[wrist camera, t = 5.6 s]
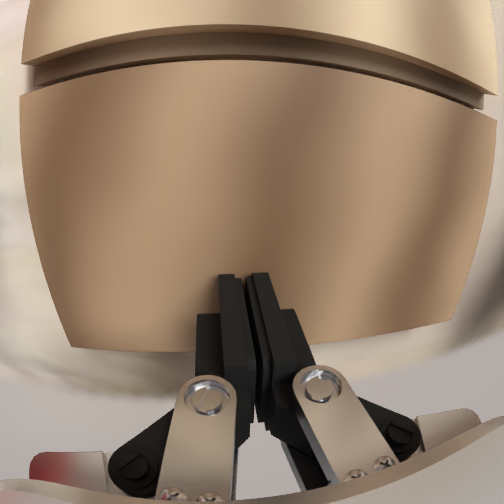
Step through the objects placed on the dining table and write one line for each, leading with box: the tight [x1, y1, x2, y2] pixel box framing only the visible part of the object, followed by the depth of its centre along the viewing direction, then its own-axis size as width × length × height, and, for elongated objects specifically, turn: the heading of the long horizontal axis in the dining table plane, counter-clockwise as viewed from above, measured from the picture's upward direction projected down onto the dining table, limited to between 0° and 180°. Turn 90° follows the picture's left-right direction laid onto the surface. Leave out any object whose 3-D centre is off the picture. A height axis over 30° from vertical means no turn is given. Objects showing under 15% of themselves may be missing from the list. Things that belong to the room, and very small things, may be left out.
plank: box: [20, 60, 497, 352], centre depth 10 cm, size 18×10×2 cm, turn 89°
